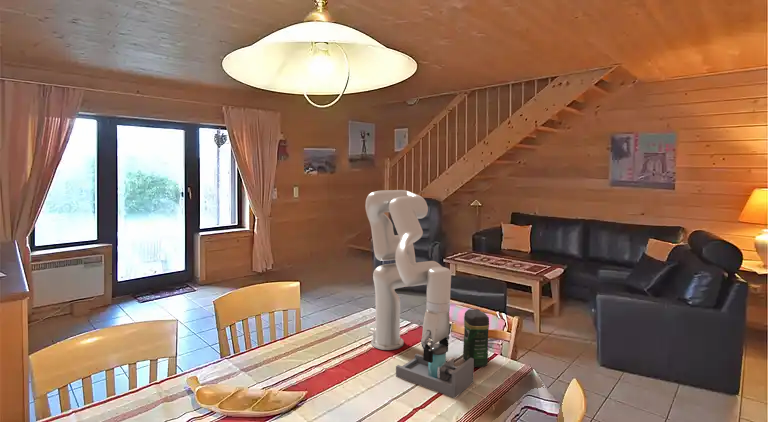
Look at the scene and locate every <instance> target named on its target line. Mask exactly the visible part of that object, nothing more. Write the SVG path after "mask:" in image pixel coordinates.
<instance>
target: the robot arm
mask: <svg viewBox="0 0 768 422" xmlns="http://www.w3.org/2000/svg"><path fill="white" fill-rule="evenodd" d="M364 208H365V212H366V213H365V214H366V217H367V219H368V221H369V225H370V230H371V237H372V246H373V252H374V257H375V258H376V260H378V261H380V262H381V261H384V262H385V261H395V262H394V263H388V264H386V263H385V264H382V265H379V266H377V267H376V268H375V269H374V270H373V271H372V272H373V273H372V275H373V276H372V278H373V279H372V280H373V285H374V292H375V324H374V325H375V328H374V327H371V328H370V329H369V331H368V335H370V336H372V339H371V345H372V347H374V348H376V349H378V350H383V351H393V350H394V351H395V350H398V349H400V348H402V347H404V339H403V338H402V337H401V335H400V334H401V299H400V296H399V294H398V293H397V292H396V291H395V290H396V289H401V288H404V287H405V288H406V287H417V286H423V285H424V286H426V304H425V305H426V307H425V312H424V318H423V324H422V335H421V339H420V344H421V347H422V350H423V355H422V356H423V360H424V361H427V362H430V363H432V362H433V350H432V348H433V346H434V344H443V345H445V346H446V347H447V352H446V353H448V352H449V341H450V334H451V329H452V323H450V321H451V320H450V319H451V317H450V307H451V306H450V305H451V288H452V287H451V284H452V271H451V270H450V268H448V267H444V266H443V265H441V264H440V263H438V262H437V261H435V260H427V261H418V262H417V260H416V254H415V246H414V244H415V243H416V242H418V241H419V240H420V239H421V238H422V237H423V234H424V231H423V228H422V226H421V223H420V221H419V219H424V218H425V217H427V215H428V210H429V207H428V204H427V200H425V198H424V197H422V196H421V195H419V194H417V193H415V192H413V191H409V190H404V189H394V190H393V189H390V190H389V189H386V190H377V191H372V192H370V193H368V195H367V197H366V199H365V207H364ZM385 213H389V215H390V217H391V219H392V221H391V219H390V218H389V216H388V215H387V214H385ZM392 222H393V223H392ZM394 228H395V230H396V232H397V234H396V235H395V232H394ZM430 344H431V345H430ZM429 345H430V346H429Z"/></svg>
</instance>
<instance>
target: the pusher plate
mask: <svg viewBox="0 0 768 422" xmlns="http://www.w3.org/2000/svg"><path fill="white" fill-rule="evenodd" d="M454 366H455V357H453V356H451V357H450V358H449V359H446V361H445V362H444V363H443V364H441V365H440V366H438V369H437V379H439V380H442V381H446V380H447V379H448V378H450V377H451V376H452V371H454Z"/></svg>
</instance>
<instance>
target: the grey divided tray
mask: <svg viewBox="0 0 768 422" xmlns="http://www.w3.org/2000/svg"><path fill="white" fill-rule="evenodd" d="M474 371H475V370H474V359H473V358H469V359H468V360H467V361H465V360H464V362H463V363H462V364H460V365H459V366H456V365H454V371H452V376H451V377H450V378H448V379H447V380H446V381H442V380H439V379H437V378H434V377H431V376H428V362H427V361H424V360H423V355H422V354H419V353H415V354H414V358H413V359H411V360H410V361H408V362H406V363H404V364H403V365H399V364H396V366H395V377H397V378H399V379H402V380H405V381H408V382H410V383H413V384H415V385H418V386H421V387H424V388H426V389H428V390H432V391H435V392H437V393H439V394H442V395H444V396H445V395H446V396H447V397H449V398H452V399H453V398H454V399H456V398H457V397H458V396H459V395H460V394H461V393H463V391H465V390H466V389H467V388H469V387H470V386H471V385H472V384H473V383H474Z"/></svg>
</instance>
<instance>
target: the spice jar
mask: <svg viewBox="0 0 768 422" xmlns="http://www.w3.org/2000/svg"><path fill="white" fill-rule="evenodd" d="M428 345H429V346H430V345H431V343H429V344H428ZM432 350H433V362H432V363H430V362H428V376H431V377H434V378H437V369H438V366H440V365H441V364H443V363H444V362H445V361H447V353H448V352H447V347H446V346H445V345H443V344H439V343H435V344H434V346H433V348H432Z"/></svg>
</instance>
